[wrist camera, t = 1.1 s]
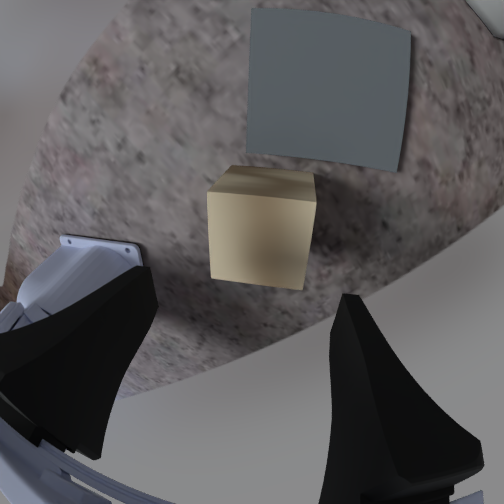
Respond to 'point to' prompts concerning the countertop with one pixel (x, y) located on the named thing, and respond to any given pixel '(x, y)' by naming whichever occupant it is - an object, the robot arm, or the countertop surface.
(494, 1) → the flask
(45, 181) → the countertop surface
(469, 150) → the countertop surface
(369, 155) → the coaster
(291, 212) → the block
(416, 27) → the countertop surface
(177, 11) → the countertop surface
